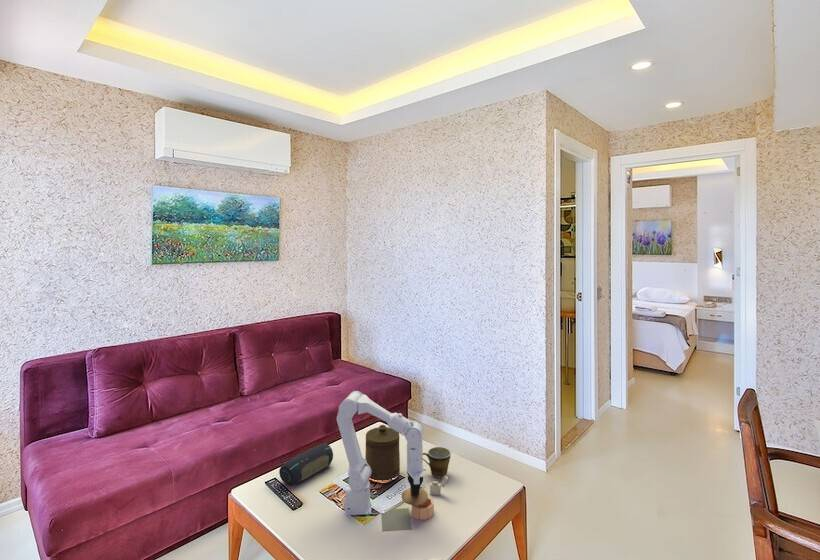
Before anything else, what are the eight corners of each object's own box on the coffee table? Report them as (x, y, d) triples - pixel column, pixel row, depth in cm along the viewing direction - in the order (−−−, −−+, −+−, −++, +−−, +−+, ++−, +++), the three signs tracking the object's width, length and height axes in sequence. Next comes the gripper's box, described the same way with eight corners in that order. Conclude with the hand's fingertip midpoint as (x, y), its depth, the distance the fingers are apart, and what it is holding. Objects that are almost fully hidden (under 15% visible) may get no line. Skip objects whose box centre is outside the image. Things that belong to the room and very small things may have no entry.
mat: (382, 532, 146) (382, 531, 146) (381, 510, 158) (381, 509, 158) (411, 530, 147) (411, 529, 147) (408, 509, 159) (408, 508, 159)
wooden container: (388, 462, 193) (388, 415, 191) (406, 477, 181) (406, 427, 179) (359, 471, 185) (359, 423, 183) (375, 488, 172) (375, 436, 171)
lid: (402, 505, 149) (402, 492, 149) (400, 490, 159) (400, 477, 158) (429, 504, 150) (429, 491, 150) (426, 489, 159) (426, 476, 159)
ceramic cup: (450, 469, 187) (450, 447, 186) (450, 481, 177) (450, 458, 176) (421, 467, 188) (421, 446, 188) (419, 479, 178) (420, 457, 178)
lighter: (429, 495, 168) (430, 476, 167) (430, 492, 169) (430, 473, 169) (447, 496, 166) (447, 477, 166) (447, 494, 168) (448, 475, 167)
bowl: (412, 521, 152) (412, 509, 151) (410, 507, 160) (410, 496, 159) (434, 520, 153) (434, 508, 152) (431, 506, 161) (431, 495, 160)
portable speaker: (292, 492, 170) (291, 468, 169) (276, 483, 175) (276, 460, 175) (337, 465, 190) (337, 444, 189) (322, 459, 196) (321, 438, 195)
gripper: (428, 466, 146) (428, 503, 147) (423, 446, 161) (423, 480, 162) (408, 467, 146) (408, 504, 147) (404, 447, 160) (405, 481, 161)
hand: (414, 492), depth 154 cm, fingers closed on lid, 3 cm apart
